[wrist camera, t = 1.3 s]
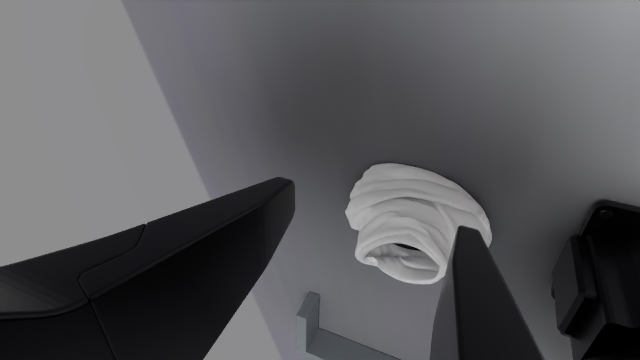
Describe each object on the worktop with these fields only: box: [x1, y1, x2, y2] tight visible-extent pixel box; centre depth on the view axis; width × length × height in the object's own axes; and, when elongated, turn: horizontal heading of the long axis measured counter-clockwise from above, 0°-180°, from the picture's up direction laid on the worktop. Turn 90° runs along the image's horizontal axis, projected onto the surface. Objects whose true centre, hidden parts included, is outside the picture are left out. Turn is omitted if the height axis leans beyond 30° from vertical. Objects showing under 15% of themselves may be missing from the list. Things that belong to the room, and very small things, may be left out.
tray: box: [296, 292, 399, 360], centre depth 29 cm, size 14×5×2 cm, turn 88°
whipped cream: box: [345, 163, 492, 284], centre depth 21 cm, size 8×7×5 cm
